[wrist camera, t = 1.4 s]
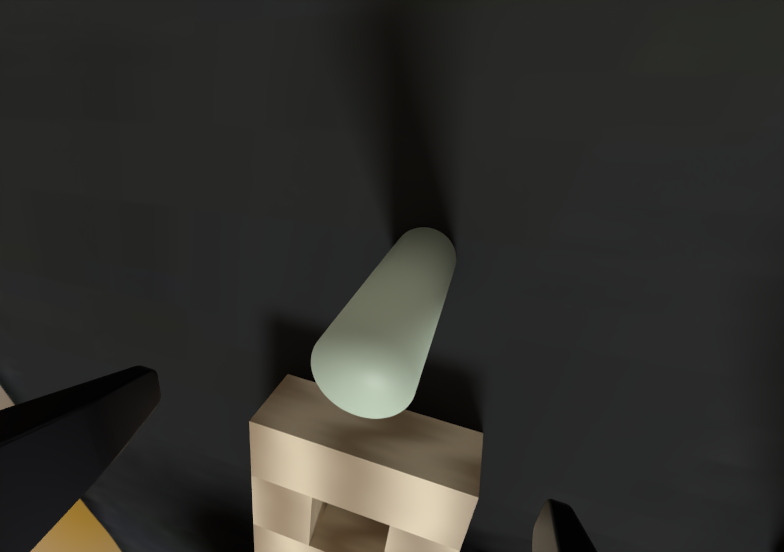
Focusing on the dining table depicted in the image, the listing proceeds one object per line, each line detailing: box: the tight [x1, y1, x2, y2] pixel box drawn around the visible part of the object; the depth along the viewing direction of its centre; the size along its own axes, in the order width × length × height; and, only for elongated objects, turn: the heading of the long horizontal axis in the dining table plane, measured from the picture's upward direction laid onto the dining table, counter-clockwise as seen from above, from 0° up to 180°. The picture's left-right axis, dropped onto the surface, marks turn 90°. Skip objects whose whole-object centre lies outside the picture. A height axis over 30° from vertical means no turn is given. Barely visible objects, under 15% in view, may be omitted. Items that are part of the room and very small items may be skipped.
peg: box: [311, 227, 456, 419], centre depth 14 cm, size 3×3×9 cm
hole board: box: [249, 374, 483, 552], centre depth 24 cm, size 12×13×4 cm
